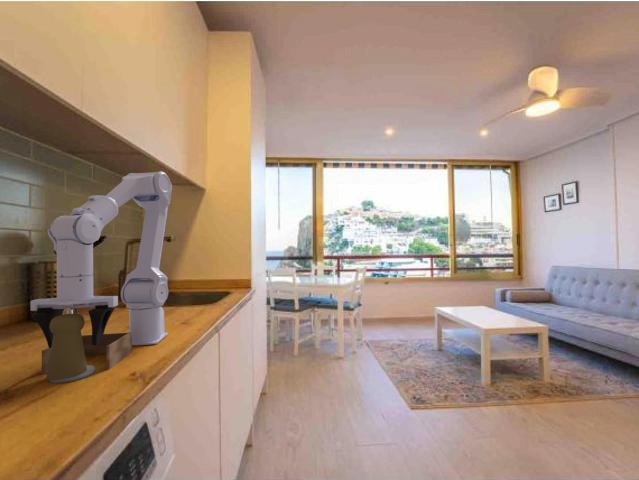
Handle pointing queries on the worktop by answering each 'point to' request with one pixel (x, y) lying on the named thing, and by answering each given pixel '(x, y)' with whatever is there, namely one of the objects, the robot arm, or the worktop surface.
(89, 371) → the coaster
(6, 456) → the worktop surface
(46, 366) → the open wooden enclosure
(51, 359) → the pepper mill
